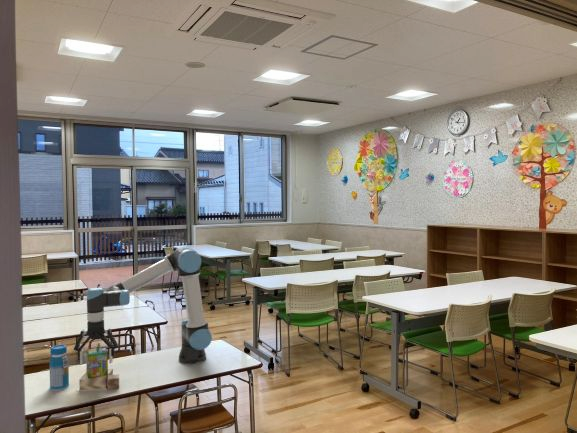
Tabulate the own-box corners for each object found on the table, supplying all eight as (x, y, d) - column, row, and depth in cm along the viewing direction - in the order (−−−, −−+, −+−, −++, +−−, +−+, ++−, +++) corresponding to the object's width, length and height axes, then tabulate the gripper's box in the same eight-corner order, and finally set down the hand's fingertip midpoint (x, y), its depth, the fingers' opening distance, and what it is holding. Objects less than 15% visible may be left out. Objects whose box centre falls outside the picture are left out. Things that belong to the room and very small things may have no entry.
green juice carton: (86, 372, 217) (85, 342, 217) (106, 369, 221) (105, 339, 221) (87, 379, 209) (87, 348, 209) (108, 375, 213) (107, 345, 213)
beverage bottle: (51, 392, 206) (50, 350, 206) (48, 386, 213) (47, 346, 213) (70, 388, 211) (70, 347, 211) (67, 382, 218) (66, 342, 218)
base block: (113, 378, 222) (112, 368, 222) (105, 388, 210) (105, 378, 210) (88, 379, 220) (87, 369, 220) (79, 389, 209) (79, 379, 208)
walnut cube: (118, 384, 215) (118, 374, 214) (119, 388, 210) (119, 378, 210) (107, 385, 213) (107, 375, 213) (107, 389, 208) (107, 379, 208)
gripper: (124, 317, 219) (124, 359, 220) (71, 319, 217) (72, 361, 217) (120, 321, 212) (121, 364, 213) (65, 323, 209) (66, 367, 210)
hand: (96, 363), depth 215 cm, fingers open, 13 cm apart
